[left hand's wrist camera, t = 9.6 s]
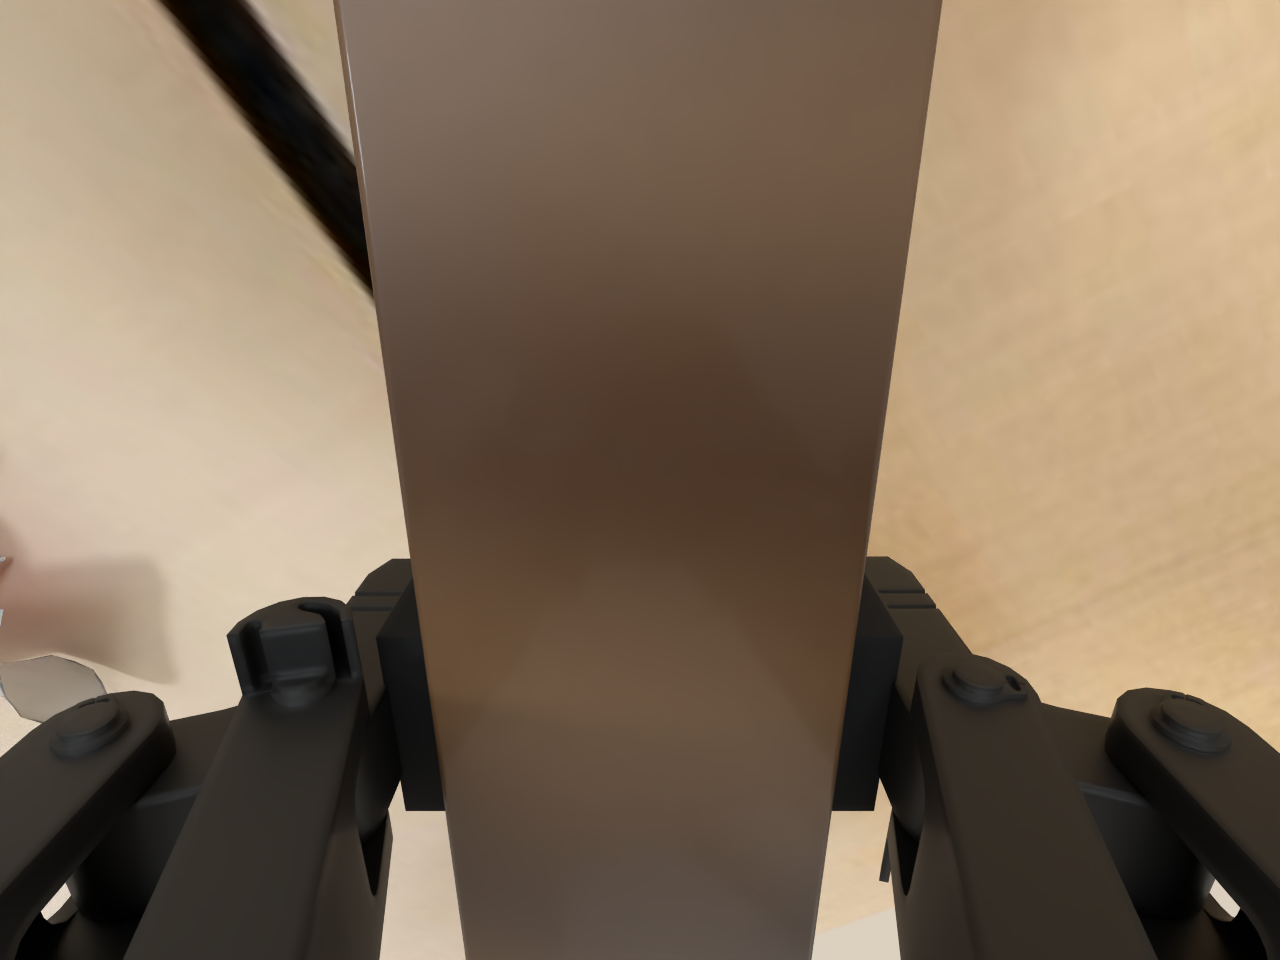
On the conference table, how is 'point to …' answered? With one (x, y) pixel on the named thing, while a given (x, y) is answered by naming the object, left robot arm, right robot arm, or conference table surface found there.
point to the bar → (638, 435)
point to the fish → (46, 684)
